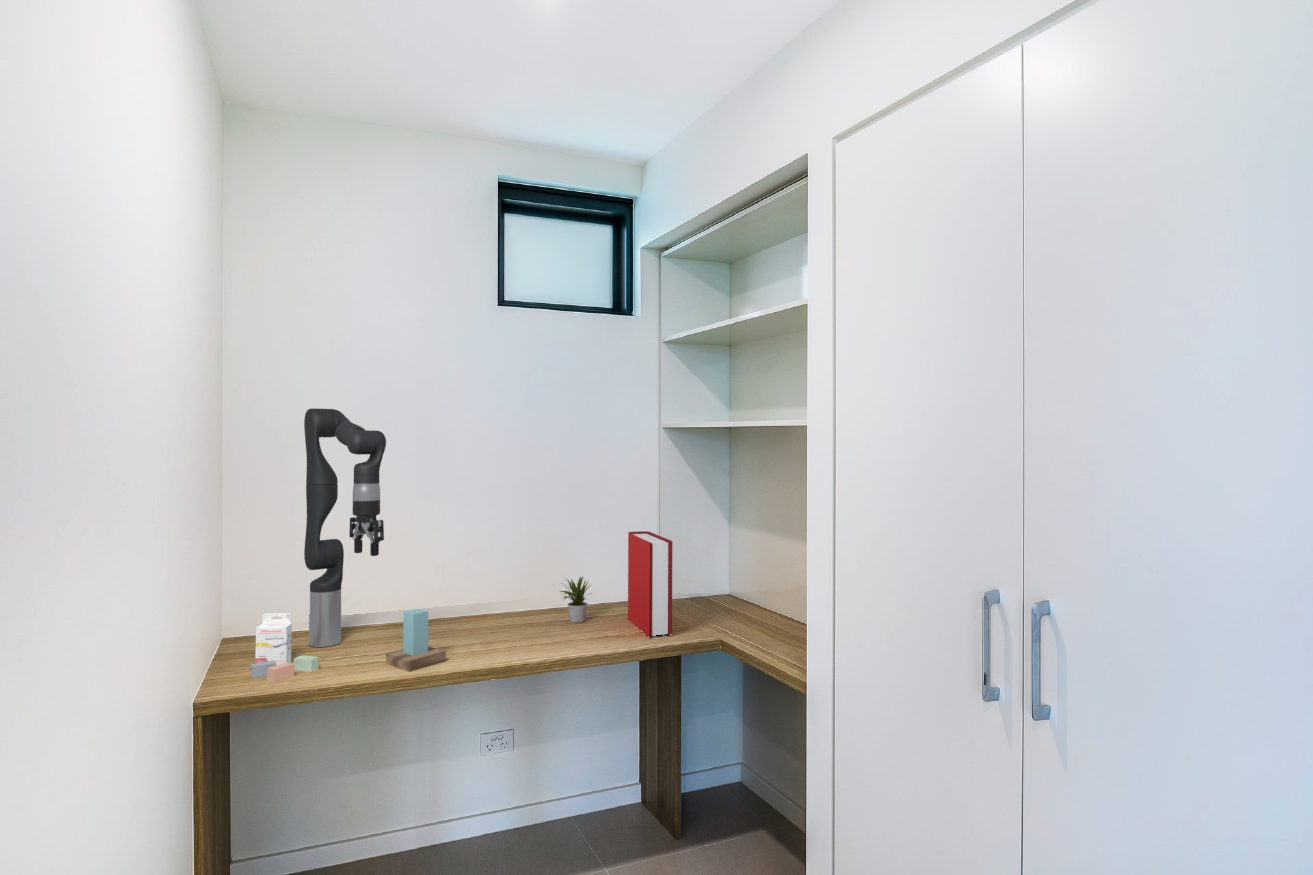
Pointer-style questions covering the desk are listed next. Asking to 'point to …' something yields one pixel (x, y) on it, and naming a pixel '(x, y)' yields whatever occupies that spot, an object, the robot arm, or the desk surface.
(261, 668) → the slate brick
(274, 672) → the terracotta brick
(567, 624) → the desk surface
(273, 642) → the ink cartridge box
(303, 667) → the sage brick
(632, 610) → the book
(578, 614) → the house plant
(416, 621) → the tall teal brick
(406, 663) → the walnut block
